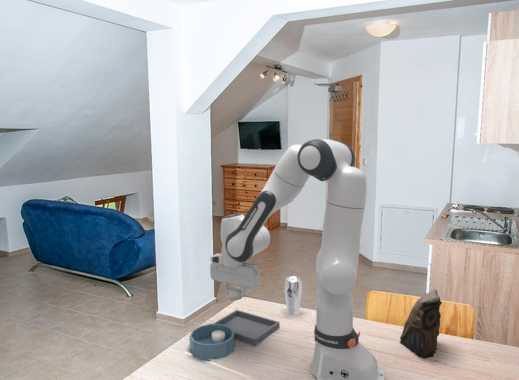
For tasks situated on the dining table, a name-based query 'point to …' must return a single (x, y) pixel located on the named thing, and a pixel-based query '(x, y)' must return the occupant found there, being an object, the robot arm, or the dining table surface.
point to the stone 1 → (218, 337)
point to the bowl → (203, 342)
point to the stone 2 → (234, 293)
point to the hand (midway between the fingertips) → (235, 295)
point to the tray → (249, 326)
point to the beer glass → (293, 295)
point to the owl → (423, 326)
